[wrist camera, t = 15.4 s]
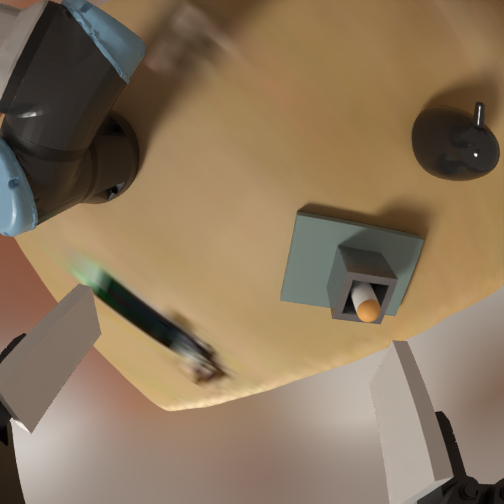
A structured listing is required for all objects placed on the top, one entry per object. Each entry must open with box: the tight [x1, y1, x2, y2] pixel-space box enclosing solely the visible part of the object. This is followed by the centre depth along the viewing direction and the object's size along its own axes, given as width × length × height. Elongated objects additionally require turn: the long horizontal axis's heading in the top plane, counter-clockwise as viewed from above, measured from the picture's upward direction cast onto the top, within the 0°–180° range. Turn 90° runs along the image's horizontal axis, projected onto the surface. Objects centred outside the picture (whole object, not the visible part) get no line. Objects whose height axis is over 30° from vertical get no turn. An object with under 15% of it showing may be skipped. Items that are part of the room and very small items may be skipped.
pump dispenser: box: [411, 102, 500, 181], centre depth 27 cm, size 10×10×15 cm
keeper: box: [280, 211, 424, 322], centre depth 38 cm, size 20×14×14 cm
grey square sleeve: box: [326, 245, 398, 324], centre depth 38 cm, size 7×7×8 cm
